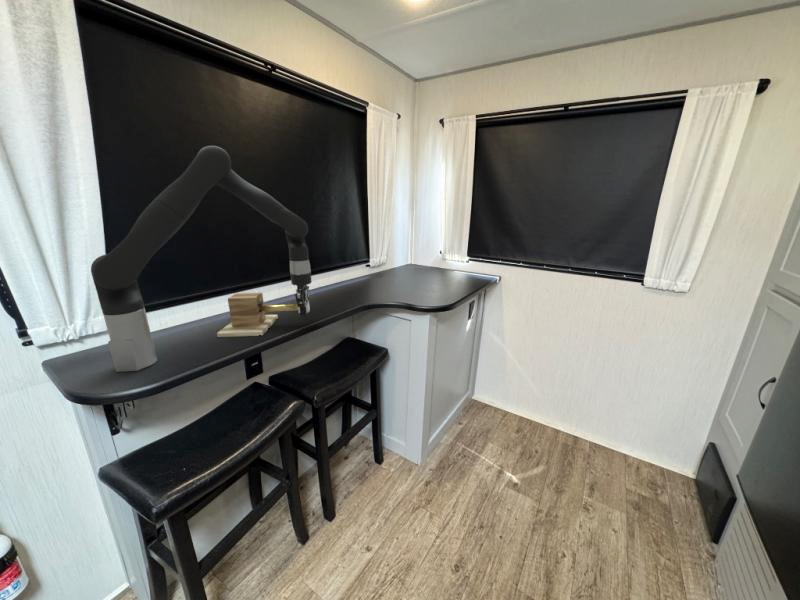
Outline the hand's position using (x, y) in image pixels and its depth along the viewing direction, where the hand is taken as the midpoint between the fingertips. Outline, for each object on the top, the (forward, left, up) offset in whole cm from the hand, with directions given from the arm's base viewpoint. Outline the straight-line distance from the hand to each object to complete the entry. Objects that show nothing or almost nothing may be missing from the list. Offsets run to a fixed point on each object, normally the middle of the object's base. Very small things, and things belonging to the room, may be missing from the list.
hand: (304, 313), depth 127 cm
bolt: (0, +9, +1) cm, 10 cm away
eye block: (0, +22, -5) cm, 22 cm away
